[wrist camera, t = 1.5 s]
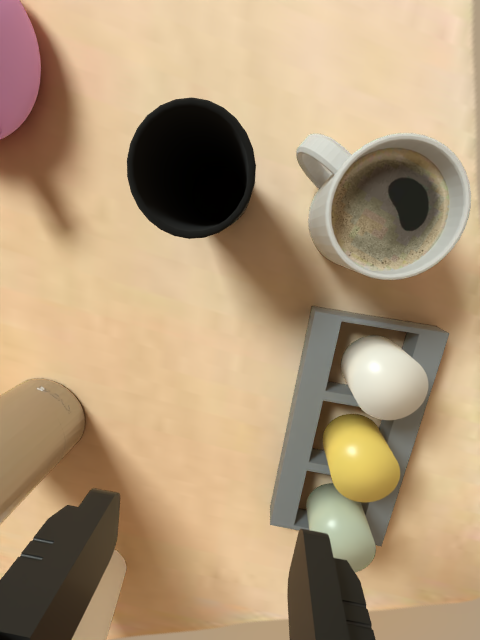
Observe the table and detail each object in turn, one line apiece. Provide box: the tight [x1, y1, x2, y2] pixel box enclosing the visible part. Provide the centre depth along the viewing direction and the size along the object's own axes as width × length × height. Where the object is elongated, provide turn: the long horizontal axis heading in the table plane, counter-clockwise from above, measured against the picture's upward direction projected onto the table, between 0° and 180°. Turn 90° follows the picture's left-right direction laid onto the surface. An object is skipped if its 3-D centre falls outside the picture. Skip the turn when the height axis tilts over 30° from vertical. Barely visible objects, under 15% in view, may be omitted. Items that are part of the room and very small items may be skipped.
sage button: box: [306, 483, 376, 572], centre depth 33 cm, size 6×6×5 cm
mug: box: [296, 133, 471, 280], centre depth 26 cm, size 11×10×10 cm
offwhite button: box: [341, 335, 428, 420], centre depth 29 cm, size 6×6×5 cm
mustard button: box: [323, 414, 400, 502], centre depth 31 cm, size 6×6×5 cm
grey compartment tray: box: [270, 306, 449, 546], centre depth 35 cm, size 24×12×2 cm, turn 172°
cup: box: [127, 98, 256, 239], centre depth 26 cm, size 8×8×12 cm
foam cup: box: [72, 549, 127, 640], centre depth 37 cm, size 10×9×13 cm
